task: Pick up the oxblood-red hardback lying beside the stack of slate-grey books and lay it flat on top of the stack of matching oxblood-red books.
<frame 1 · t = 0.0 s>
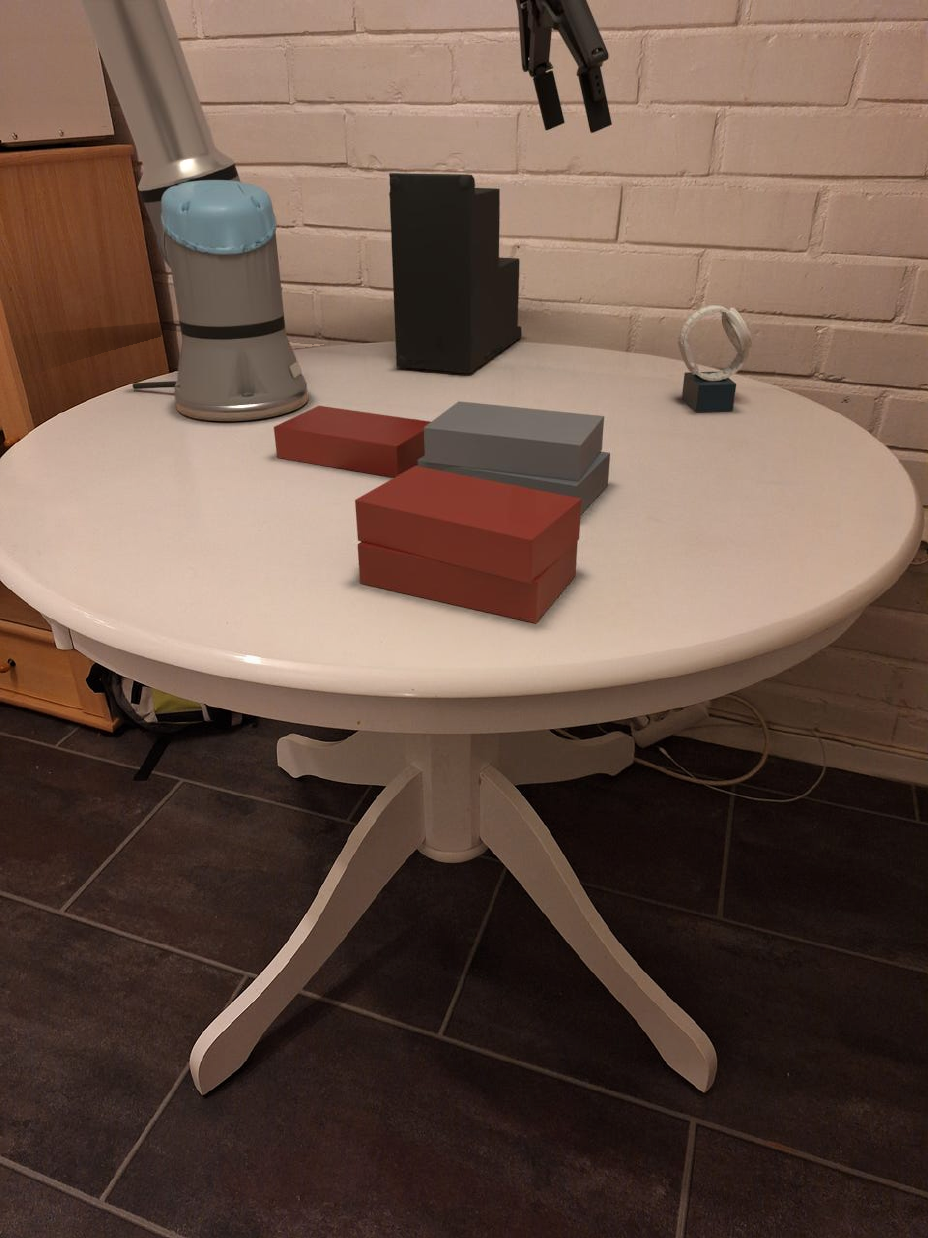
hand: (577, 127, 119), 28 cm above the table, tool tilted 20°, fingers open, 13 cm apart
grey book low: (513, 489, 83), on the table, touching grey book top
red stack top: (468, 540, 66), point 3 cm above the table, touching red stack low
grey book top: (514, 456, 81), point 3 cm above the table, touching grey book low
red book: (357, 455, 91), on the table
ring sculpture: (707, 406, 106), on the table
red stack low: (468, 579, 67), on the table, touching red stack top
bookend: (463, 354, 129), on the table
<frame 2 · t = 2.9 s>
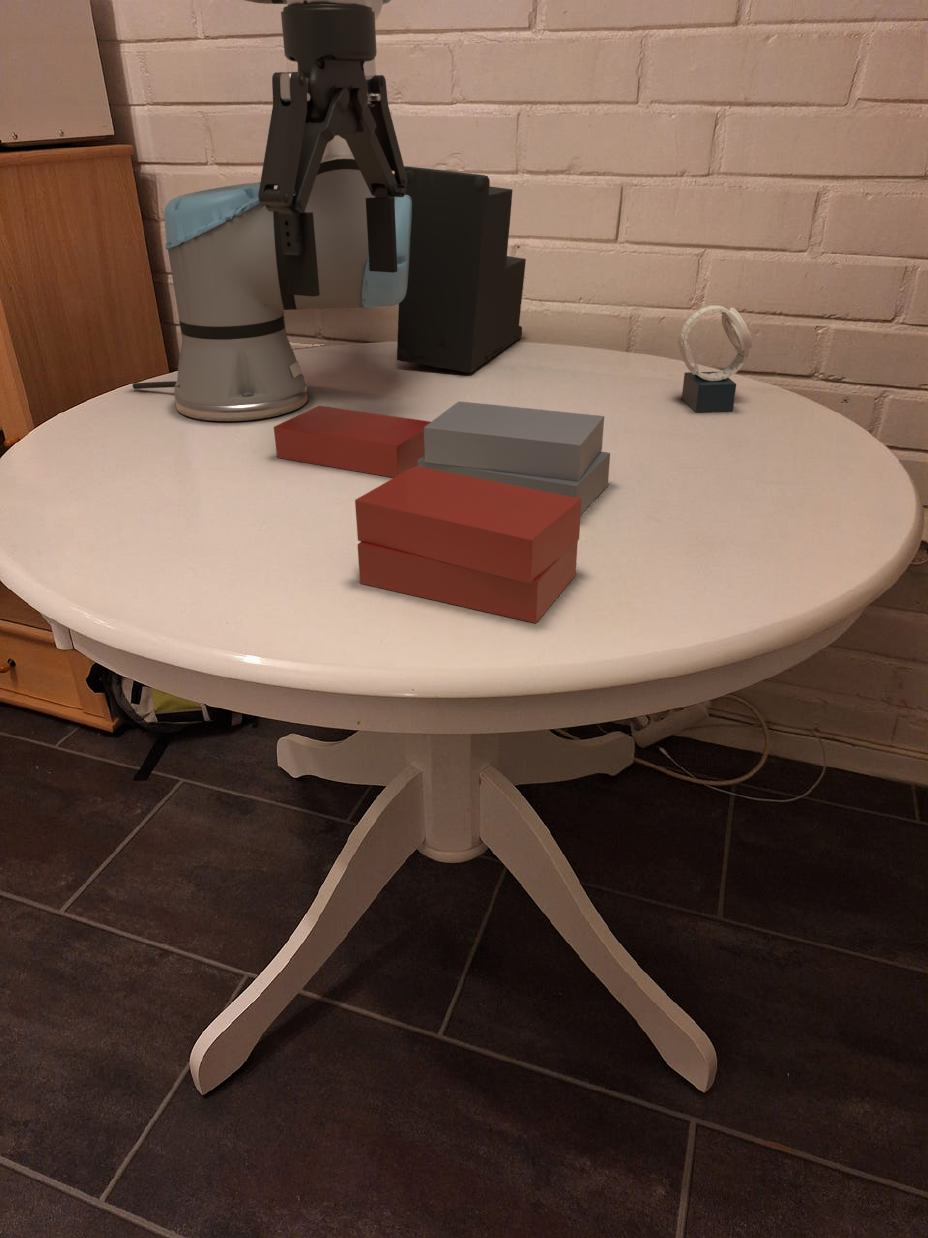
hand: (346, 282, 83), 17 cm above the table, tool pointing down, fingers open, 13 cm apart
bookend: (462, 351, 128), on the table, touching arm
everything else where it was.
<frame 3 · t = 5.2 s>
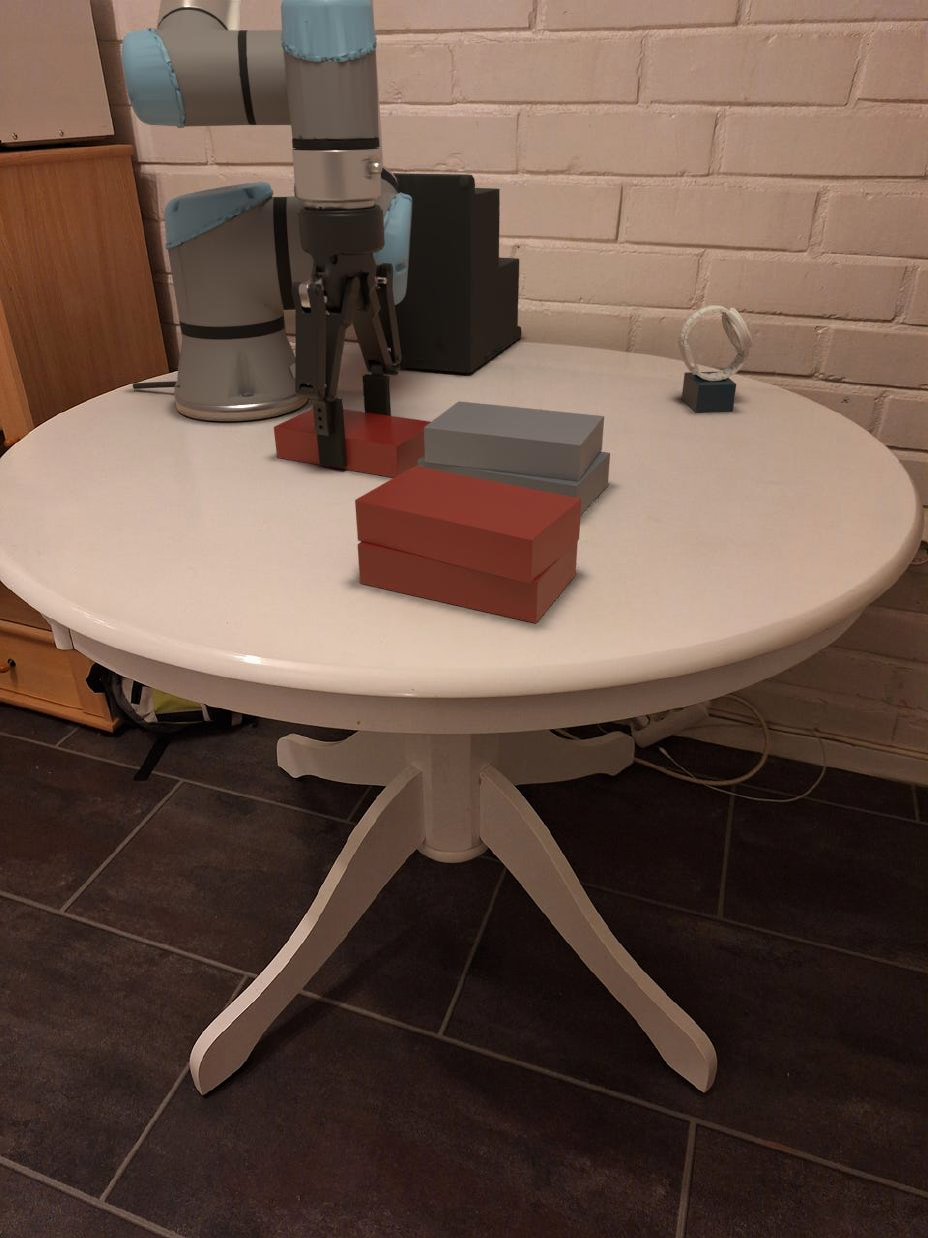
hand: (357, 450, 91), 0 cm above the table, tool pointing down, fingers closed on red book, 8 cm apart
red book: (357, 455, 91), on the table, touching gripper
bookend: (462, 354, 129), on the table
everything else where it was.
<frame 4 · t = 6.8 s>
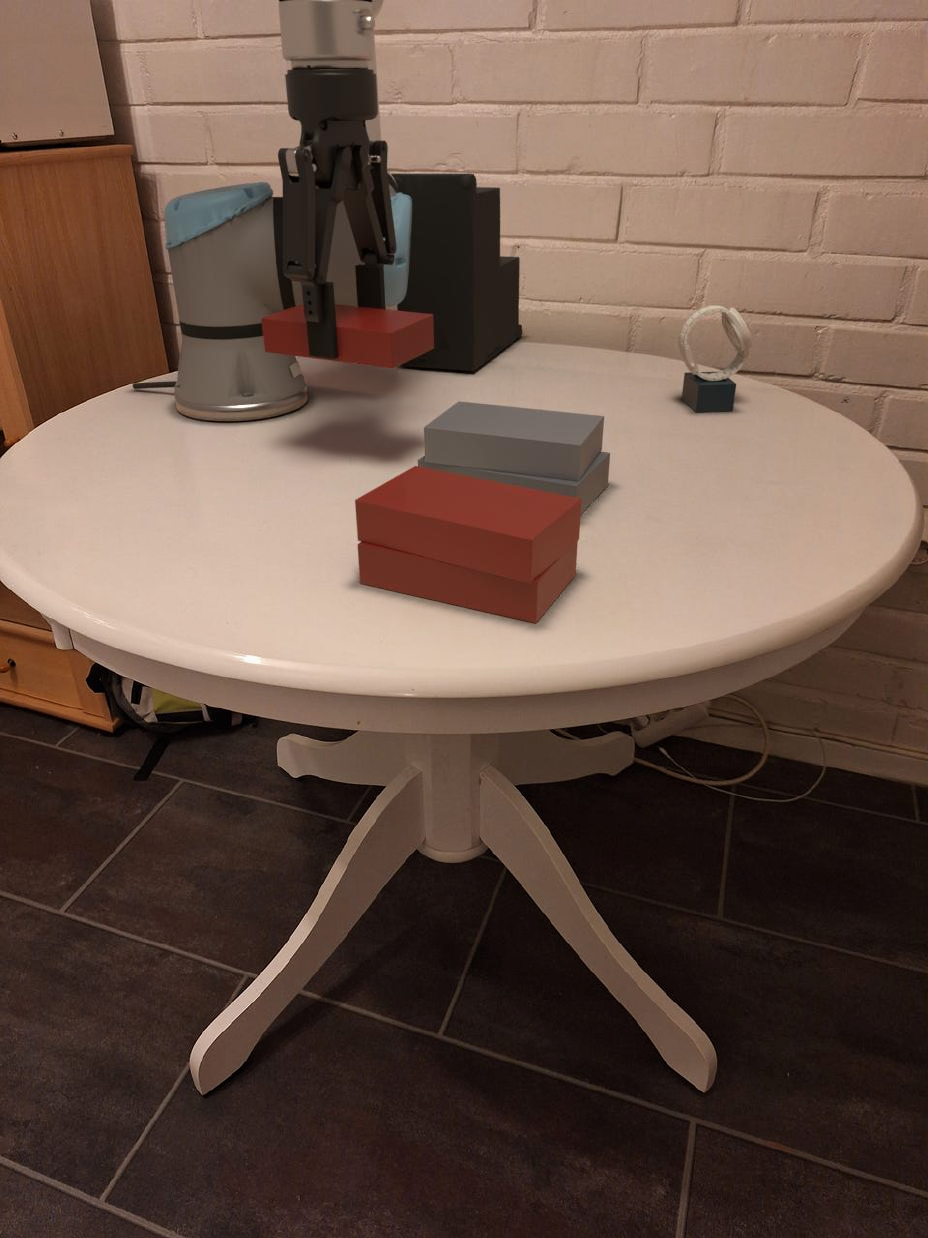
hand: (349, 345, 86), 11 cm above the table, tool pointing down, fingers closed on red book, 8 cm apart
red book: (350, 350, 87), point 10 cm above the table, touching gripper
bookend: (465, 353, 129), on the table, touching arm
everything else where it was.
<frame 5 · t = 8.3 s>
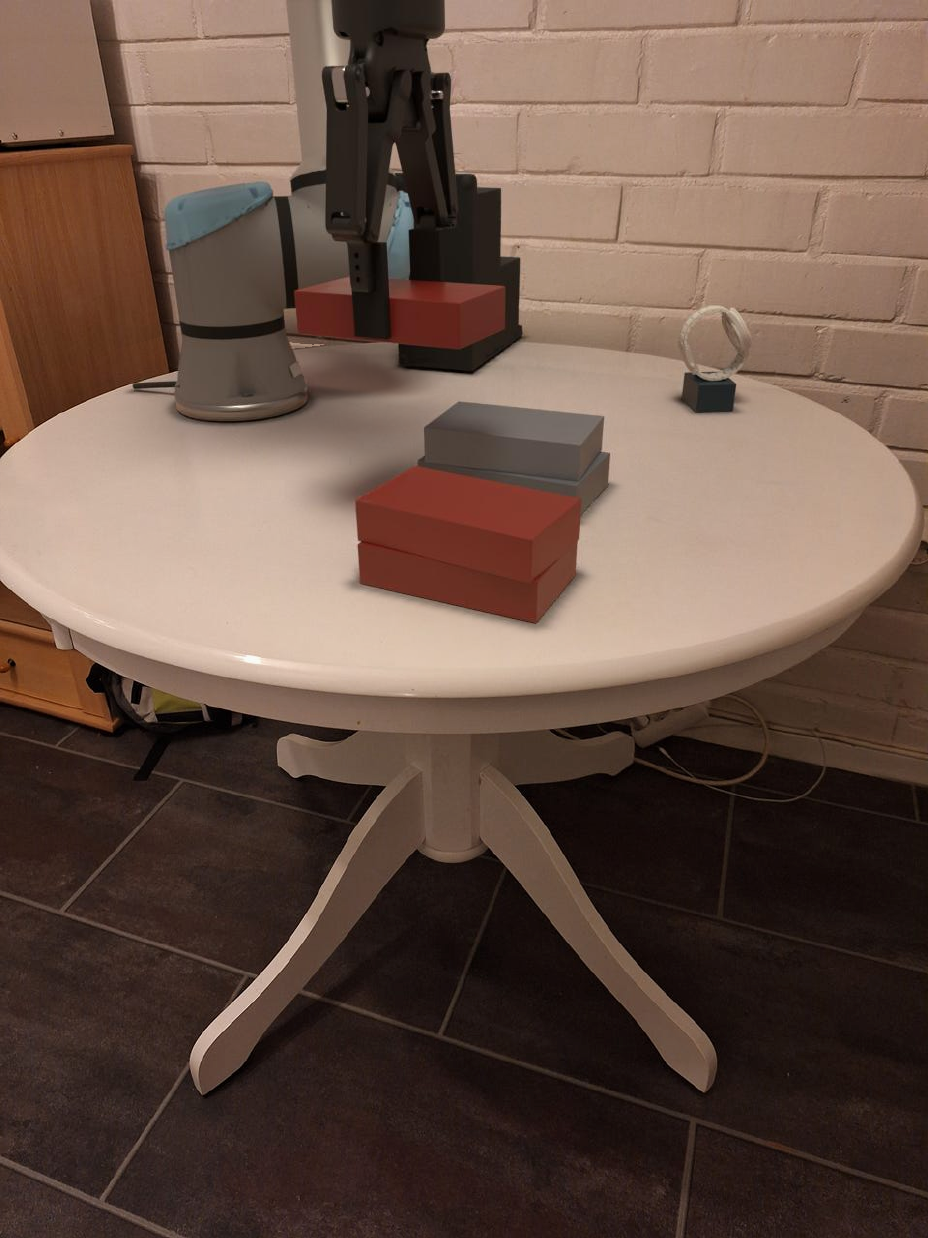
hand: (402, 325, 70), 16 cm above the table, tool pointing down, fingers closed on red book, 8 cm apart
red book: (402, 331, 70), point 15 cm above the table, touching gripper
bookend: (464, 352, 129), on the table
everything else where it was.
when the fingers open (7 cm above the table, at t = 11.8 s): red book stays where it is, resting on red stack top.
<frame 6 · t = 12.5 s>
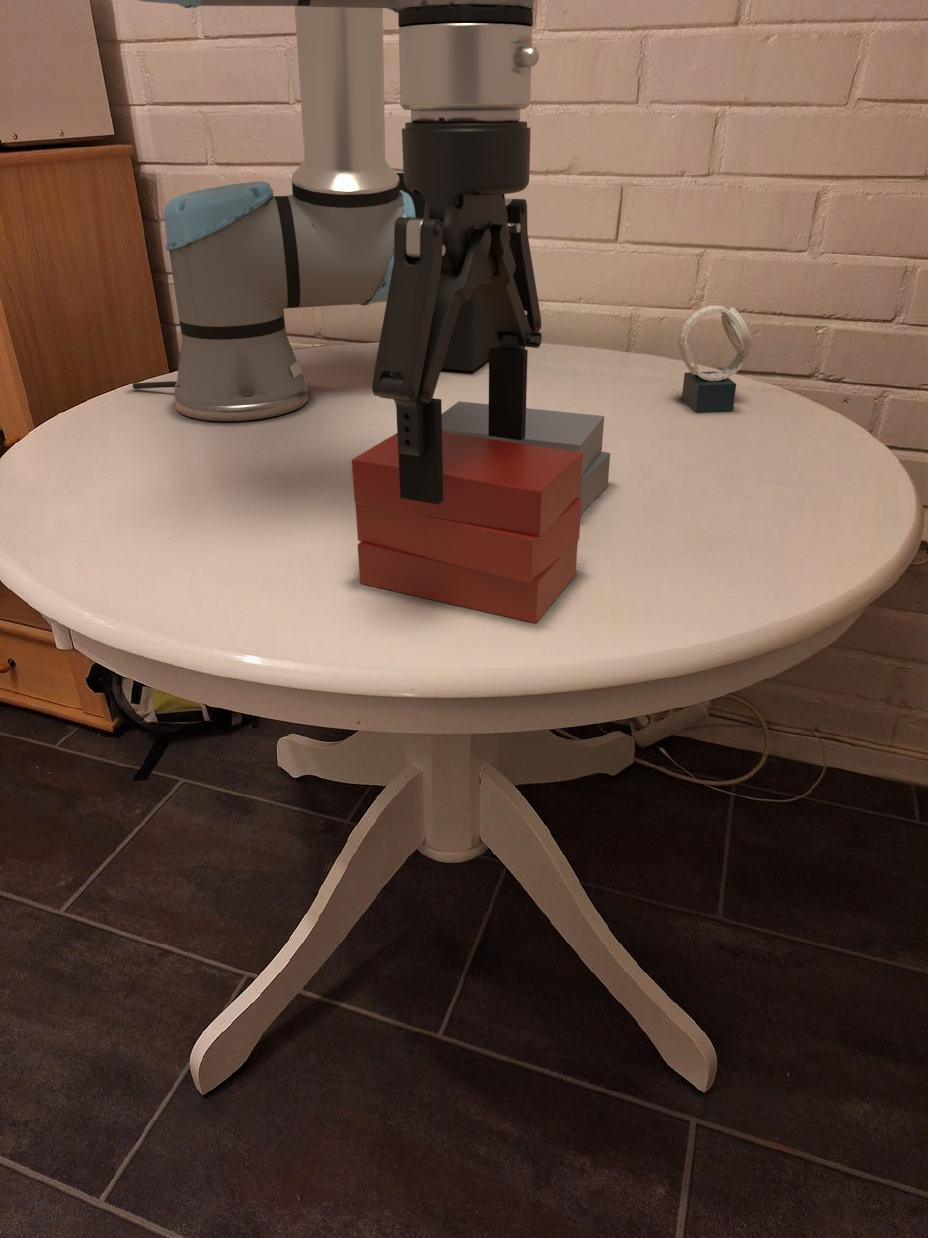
hand: (467, 465, 63), 9 cm above the table, tool pointing down, fingers open, 13 cm apart
red stack top: (468, 540, 66), point 3 cm above the table, touching red book, red stack low
red book: (468, 499, 64), point 6 cm above the table, touching red stack top
everything else where it was.
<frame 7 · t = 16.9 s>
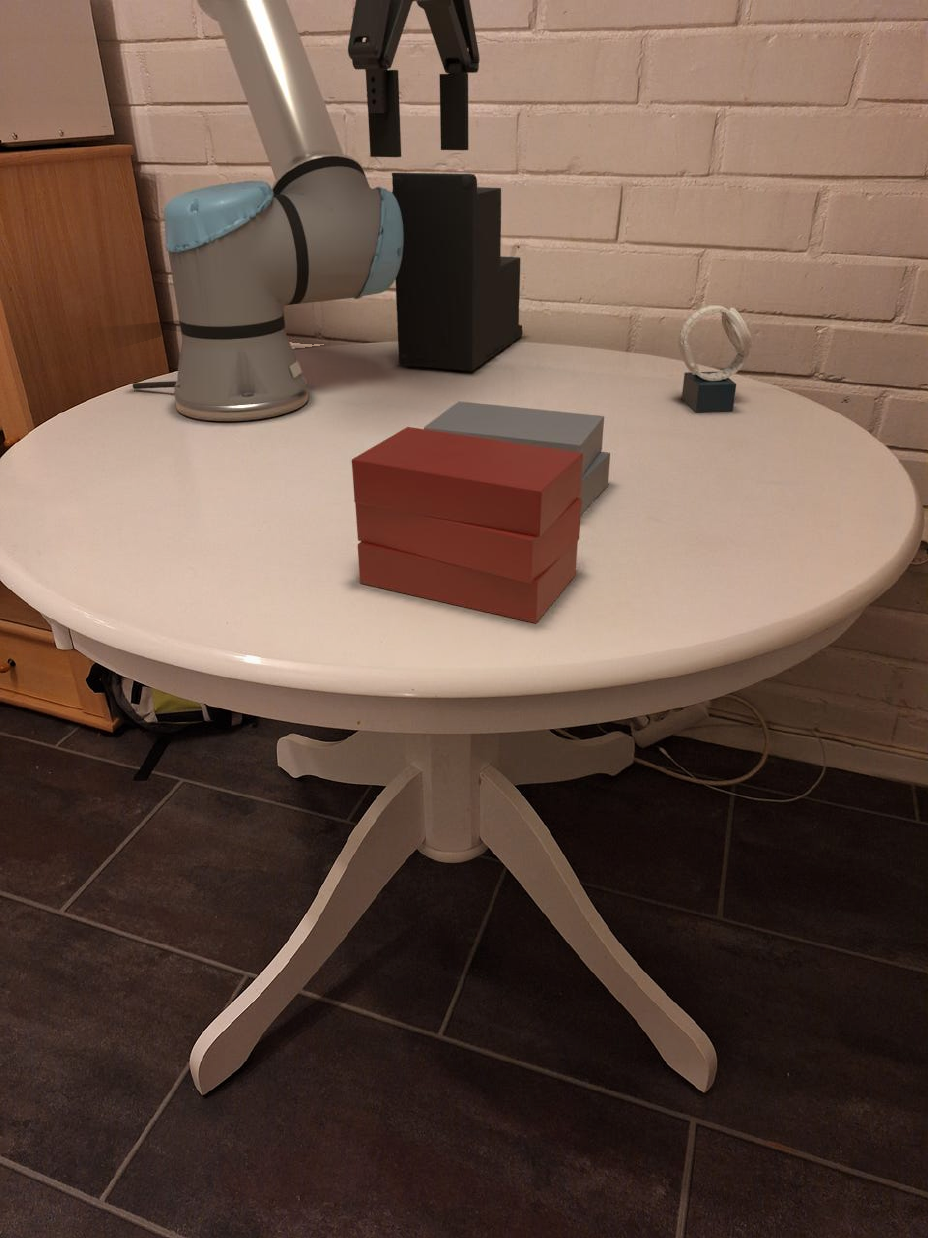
hand: (422, 153, 85), 27 cm above the table, tool pointing down, fingers open, 13 cm apart
nothing on the table moved.
at the end: red book inside the target area on the red stack low (0.0 cm from its centre), point 6.4 cm above the red stack low's base; red book tilted 0° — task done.
